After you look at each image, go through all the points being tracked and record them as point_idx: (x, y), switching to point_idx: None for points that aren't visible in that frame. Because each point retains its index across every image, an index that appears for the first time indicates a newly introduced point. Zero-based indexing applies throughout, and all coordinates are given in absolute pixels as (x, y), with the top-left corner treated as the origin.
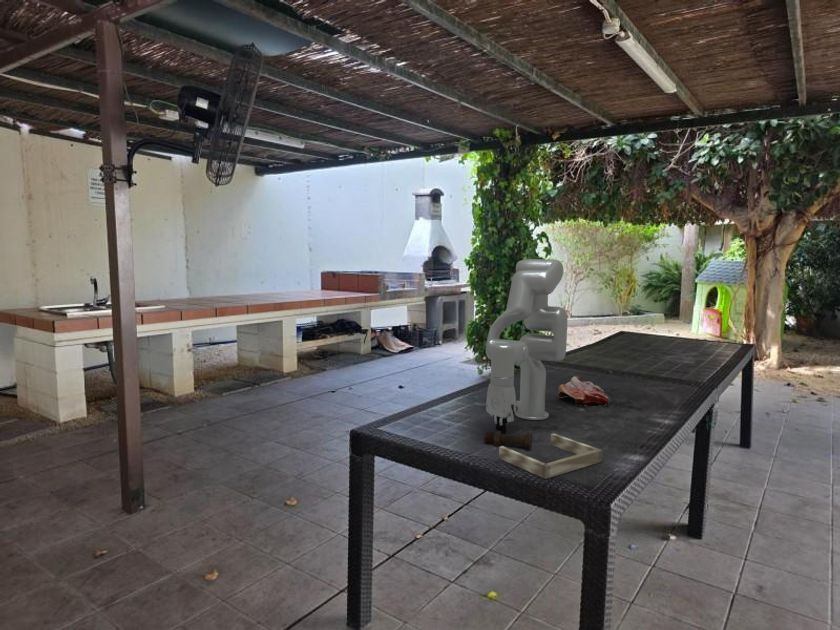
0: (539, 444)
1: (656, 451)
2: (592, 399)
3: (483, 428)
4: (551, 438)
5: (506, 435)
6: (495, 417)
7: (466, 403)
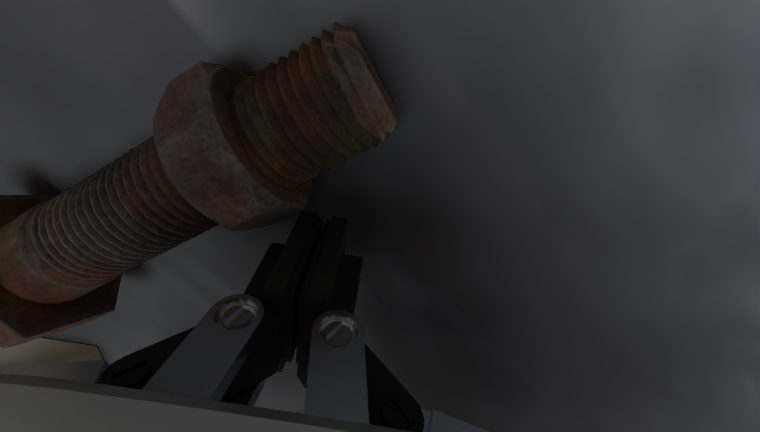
0: (127, 318)
1: None
2: None
3: (596, 332)
4: None
5: (126, 191)
6: (332, 391)
7: None
